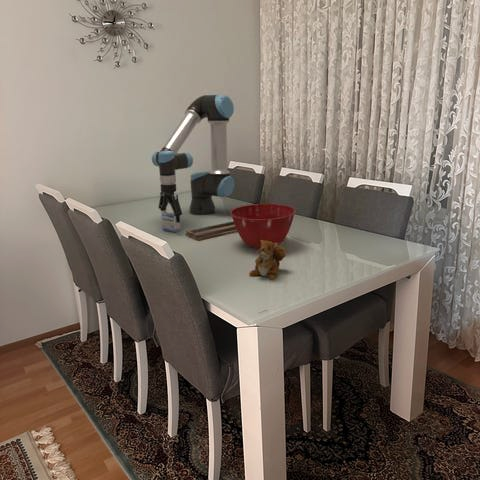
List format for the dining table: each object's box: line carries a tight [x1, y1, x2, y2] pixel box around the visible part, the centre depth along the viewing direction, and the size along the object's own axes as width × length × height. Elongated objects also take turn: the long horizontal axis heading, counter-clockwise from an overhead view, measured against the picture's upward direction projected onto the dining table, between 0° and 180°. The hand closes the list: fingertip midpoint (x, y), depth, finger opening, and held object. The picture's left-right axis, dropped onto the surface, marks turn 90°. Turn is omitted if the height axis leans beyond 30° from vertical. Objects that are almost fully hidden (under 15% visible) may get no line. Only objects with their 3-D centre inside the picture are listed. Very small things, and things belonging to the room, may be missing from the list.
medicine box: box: [161, 212, 181, 233], centre depth 227 cm, size 8×4×9 cm, turn 62°
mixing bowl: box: [230, 203, 296, 249], centre depth 201 cm, size 28×28×16 cm
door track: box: [184, 220, 238, 242], centre depth 223 cm, size 12×30×2 cm, turn 126°
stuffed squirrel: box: [248, 240, 287, 280], centre depth 168 cm, size 10×14×13 cm
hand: (171, 225), depth 227 cm, fingers open, 13 cm apart
